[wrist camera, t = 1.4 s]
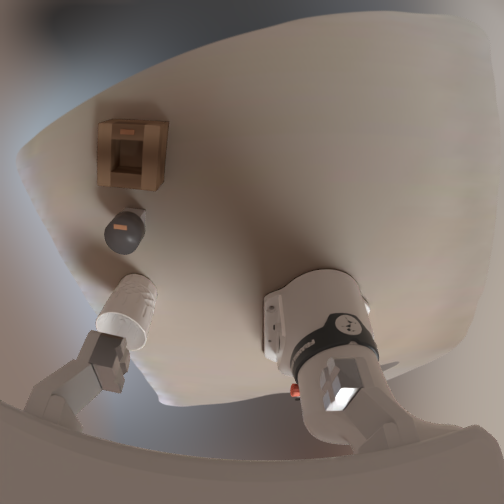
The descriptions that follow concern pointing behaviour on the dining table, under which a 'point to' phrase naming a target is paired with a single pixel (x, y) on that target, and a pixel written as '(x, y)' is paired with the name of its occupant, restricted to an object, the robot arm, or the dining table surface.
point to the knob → (126, 231)
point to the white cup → (129, 311)
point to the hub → (131, 153)
